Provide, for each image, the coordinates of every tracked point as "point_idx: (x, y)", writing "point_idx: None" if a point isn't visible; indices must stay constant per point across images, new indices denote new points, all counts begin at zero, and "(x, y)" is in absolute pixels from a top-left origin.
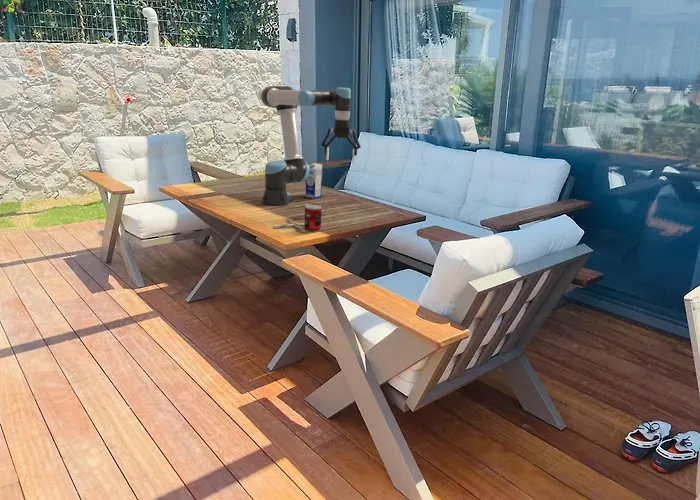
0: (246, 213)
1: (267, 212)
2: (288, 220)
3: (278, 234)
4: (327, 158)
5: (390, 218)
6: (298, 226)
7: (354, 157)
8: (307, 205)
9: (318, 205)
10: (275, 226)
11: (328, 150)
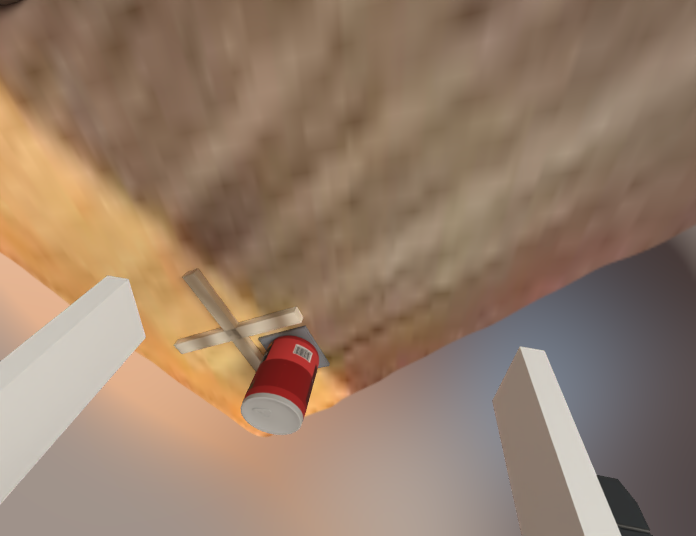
0: (2, 188)
1: (60, 157)
2: (195, 293)
3: (216, 387)
4: (122, 357)
5: (674, 178)
6: (249, 352)
7: (565, 414)
8: (246, 404)
9: (286, 405)
10: (185, 352)
11: (10, 449)
